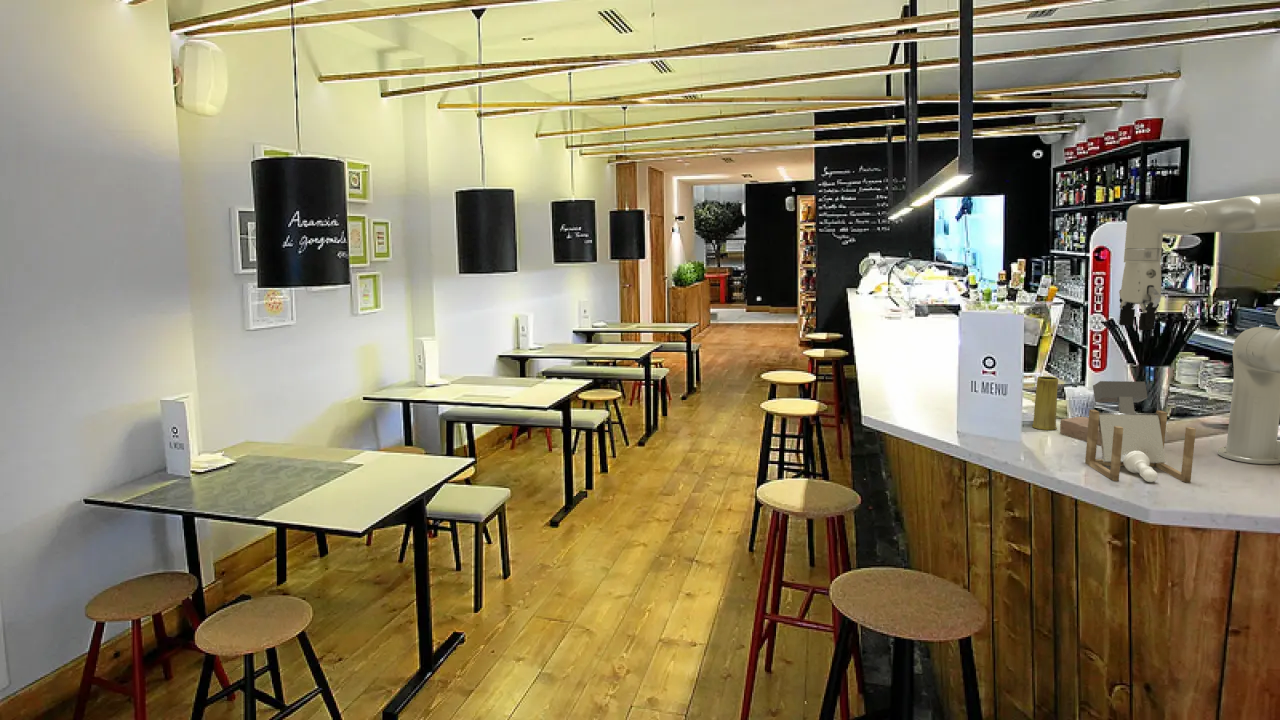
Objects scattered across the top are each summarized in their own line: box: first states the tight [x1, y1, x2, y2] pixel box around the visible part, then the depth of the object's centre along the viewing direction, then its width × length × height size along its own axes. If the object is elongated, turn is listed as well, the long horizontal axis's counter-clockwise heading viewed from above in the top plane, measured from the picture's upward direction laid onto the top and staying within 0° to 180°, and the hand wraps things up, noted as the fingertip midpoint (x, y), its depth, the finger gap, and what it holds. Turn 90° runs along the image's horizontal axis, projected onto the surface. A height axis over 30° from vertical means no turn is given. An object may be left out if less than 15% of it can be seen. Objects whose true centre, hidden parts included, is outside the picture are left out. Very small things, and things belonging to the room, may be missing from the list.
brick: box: [1059, 416, 1101, 446], centre depth 212 cm, size 17×8×5 cm, turn 18°
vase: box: [1031, 375, 1059, 431], centre depth 224 cm, size 6×6×14 cm
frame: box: [1084, 409, 1197, 484], centre depth 181 cm, size 16×14×13 cm
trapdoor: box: [1092, 380, 1166, 464], centre depth 187 cm, size 19×13×4 cm
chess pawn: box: [1123, 451, 1159, 483], centre depth 178 cm, size 5×5×9 cm
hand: (1136, 327), depth 194 cm, fingers open, 9 cm apart
